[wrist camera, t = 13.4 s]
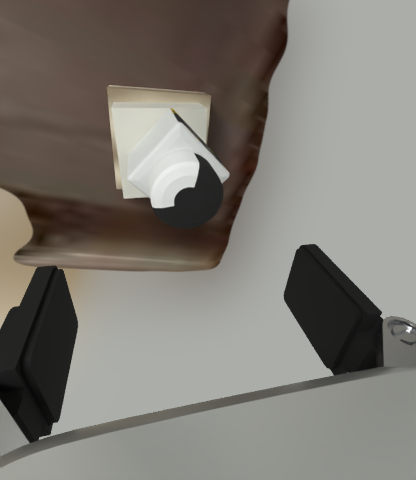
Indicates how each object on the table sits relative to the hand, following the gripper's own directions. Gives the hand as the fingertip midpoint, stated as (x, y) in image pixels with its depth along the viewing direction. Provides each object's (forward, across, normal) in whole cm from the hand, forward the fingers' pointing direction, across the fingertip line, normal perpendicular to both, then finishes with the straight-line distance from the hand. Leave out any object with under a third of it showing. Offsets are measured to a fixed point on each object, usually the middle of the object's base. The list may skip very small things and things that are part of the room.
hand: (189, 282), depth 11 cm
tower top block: (+28, -1, +2) cm, 28 cm away
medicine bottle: (+24, -2, +2) cm, 24 cm away
